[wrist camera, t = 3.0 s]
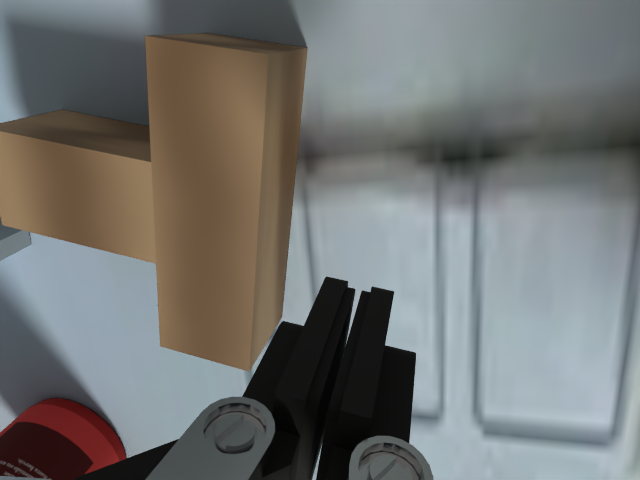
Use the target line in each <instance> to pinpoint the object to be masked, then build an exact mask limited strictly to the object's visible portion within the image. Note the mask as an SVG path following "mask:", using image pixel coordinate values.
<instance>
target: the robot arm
mask: <svg viewBox="0 0 640 480" xmlns="http://www.w3.org/2000/svg"><path fill="white" fill-rule="evenodd" d="M354 295H355V289H353V288H348V281H344V280H340V279H335V278H331V277H326V278H325V279H324V282H323V284H322V286H321V289H320V291H319V293H318V295H317V298H316V300H315V302H314V304H313V307H312V309H311V311H310V313H309V316H308V318H307V320H306V322H305V325H304V326H302V325H298V324H293V323H289V322H285V321H283V322H281V324H280V325H279V327H278V329H277V331H276V333H275V335H274V337H273V339H272V341H271V343H270V344H269V346H268V348H267V350H266V352H265V354H264V356H263V358H262V360H261V362H260V364H259V366H258V367H257V369H256V371H255V373H254V375H253V377H252V379H251V381H250V383H249V385H248V387H247V389H246V391H245V392H244V394H243V396H242V397H229V398H224V399H220V400H218V401H216V402H214V403H212V404H210V405H209V406H208V407H207V408H206V409H204V410H203V411H202V412H201V413H200V415H199V416H198V417H197V418H196V419H195V421H194V422H193V423H192V424H191V425H190V427H189V428H188V429H187V430H186V431H185V433H184V434H183V435H182V436H181V437H180V439H178V440H175V441H172V442H170V443H167V444H164V445H162V446H159V447H156V448H154V449H151V450H148V451H146V452H143V453H140V454H138V455H135V456H132V457H130V458H127V459H124V460H122V461H119V462H116V463H114V464H111V465H108V466H106V467H103V468H100V469H98V470H95V471H92V472H90V473H87V474H84V475H82V476H79V477H77V478H75V479H73V480H312V477H313V474H314V470H315V467H316V463H317V459H318V456H319V452H320V449H321V454H320V460H319V466H318V472H317V478H316V480H433V475H432V472H431V469H430V465H429V464H428V462H427V461H426V459H425V458H424V456H423V455H422V454H421V453H420V452H419V451H418V450H417V449H416V448H415V447H414V446H413V445H411V444H409V439H410V426H411V413H412V401H413V388H414V375H415V363H416V353H415V352H410V351H406V350H402V349H398V348H394V347H390V346H385V341H386V335H387V330H388V324H389V318H390V312H391V307H392V301H393V295H394V291H389V290H385V289H380V288H376V287H372V289H371V292H366V291H362V292H361V296H360V299H359V303H358V306H357V309H356V313H355V316H354V320H353V323H352V327H351V330H350V334H349V337H348V340H347V335H348V330H349V324H350V318H351V312H352V306H353V301H354ZM346 341H347V344H346ZM321 445H322V448H321ZM0 480H51V479H42V478H25V477H9V476H0Z"/></svg>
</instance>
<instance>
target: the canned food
mask: <svg viewBox="0 0 640 480" xmlns="http://www.w3.org/2000/svg"><path fill="white" fill-rule="evenodd" d="M124 459H126V454H125V451H124V448H123V446H122V443H121V441H120V440H119V438H118V436H117V435H116V433H115V432H114V431H113V429H112V428H111V427H110V426H109V425H108V424H107V423H106V422H105V421H104V420H103V419H102V418H101V417H100V416H98V415H97V414H96V413H95V412H93V411H92V410H90V409H88V408H87V407H85V406H83V405H81V404H79V403H76V402H73V401H70V400H67V399H59V398H51V399H46V400H43V401H41V402H39V403H37V404H35V405H33V406H31V407H29V408H28V409H26V410H25V411H24V412H23V413H22V414H21V415H20V416H18V417H17V418H16V419H15V420H14V421H13V422H12V423H11V424H9V425H8V426H7V427H6V428H5V429H4V430H3V431H2V432H0V476H9V477H25V478H42V479H51V480H73V479H75V478H77V477H79V476H82V475H84V474H87V473H90V472H92V471H95V470H98V469H100V468H103V467H106V466H108V465H111V464H114V463H116V462H119V461H122V460H124Z"/></svg>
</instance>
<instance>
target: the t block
mask: <svg viewBox="0 0 640 480" xmlns="http://www.w3.org/2000/svg"><path fill="white" fill-rule="evenodd" d="M145 46H146V67H147V87H148V107H149V126H145V125H140V124H135V123H130V122H124V121H119V120H114V119H109V118H103V117H98V116H93V115H88V114H82V113H77V112H72V111H67V110H58V111H53V112H49V113H44V114H40V115H35V116H31V117H26V118H22V119H17V120H13V121H8V122H4V123H0V217H1V222H2V225H4V226H8V227H12V228H16V229H20V230H24V231H28V232H32V233H36V234H40V235H44V236H48V237H52V238H56V239H60V240H64V241H68V242H72V243H76V244H80V245H84V246H88V247H92V248H96V249H100V250H104V251H108V252H112V253H116V254H120V255H124V256H128V257H132V258H136V259H140V260H144V261H148V262H152V263H156V270H157V291H158V311H159V331H160V346H161V347H165V348H168V349H172V350H175V351H179V352H182V353H186V354H189V355H193V356H196V357H200V358H203V359H207V360H210V361H214V362H218V363H221V364H225V365H228V366H232V367H235V368H239V369H242V370H246V371H250V370H251V368H252V366H253V365H254V363H255V361H256V360H257V358H258V356H259V355H260V353H261V351H262V350H263V348H264V346H265V344H266V343H267V341H268V339H269V338H270V336H271V334H272V333H273V331H274V329H275V328H276V326H277V324H278V323H279V321H280V319H281V318H282V311H283V301H284V290H285V280H286V269H287V259H288V248H289V238H290V227H291V216H292V206H293V195H294V185H295V174H296V164H297V153H298V143H299V132H300V122H301V111H302V100H303V90H304V79H305V69H306V58H307V48H306V47H299V46H292V45H285V44H279V43H272V42H265V41H258V40H251V39H244V38H238V37H231V36H224V35H217V34H210V33H195V34H174V35H152V36H145Z"/></svg>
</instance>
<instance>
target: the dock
mask: <svg viewBox="0 0 640 480" xmlns="http://www.w3.org/2000/svg"><path fill="white" fill-rule="evenodd" d="M29 245H31V240H30V235H29V232H28V231H24V230H20V229H16V228H12V227H8V226H4V225H2V222H1V221H0V260H2V259H4V258H6V257H8V256H10V255H12V254H14V253H16V252H18V251H20V250H22V249H24V248H25V247H27V246H29Z"/></svg>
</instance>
